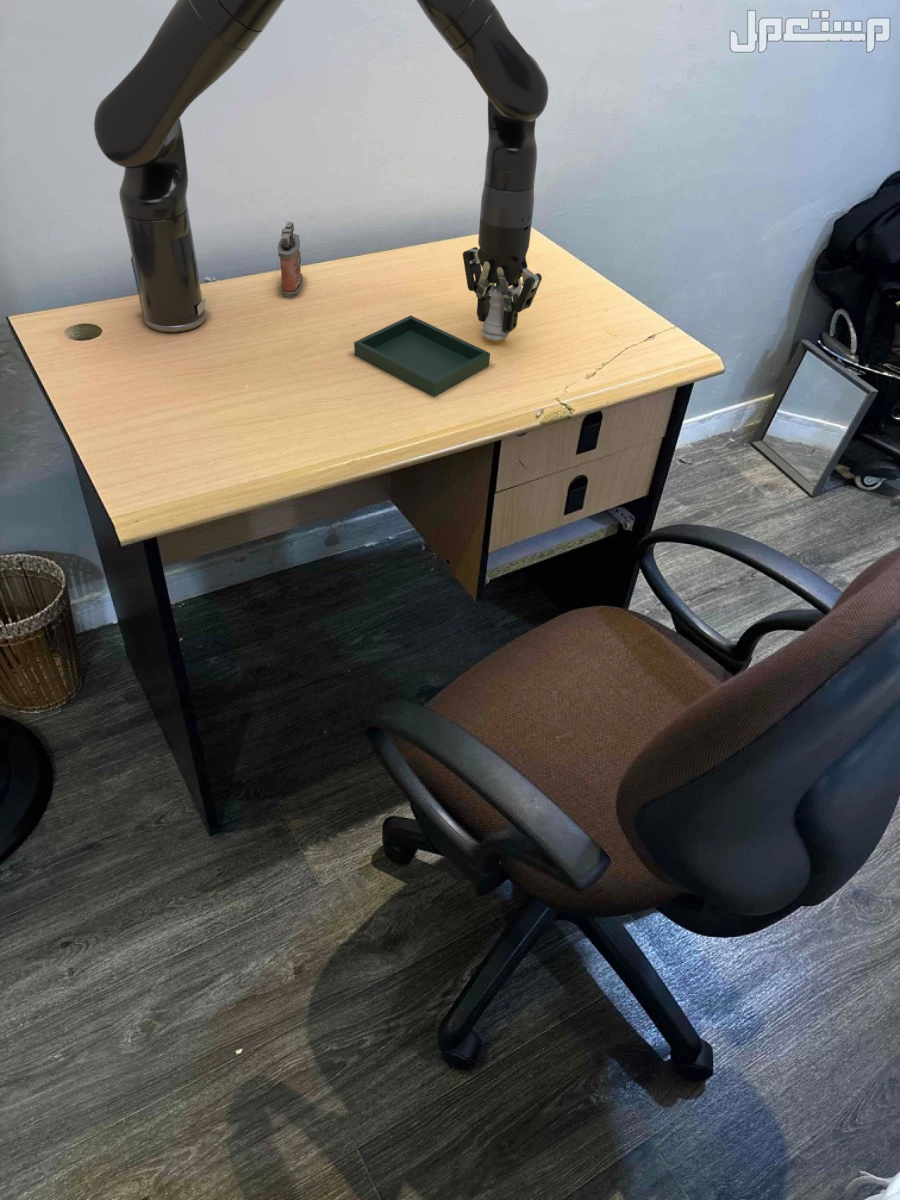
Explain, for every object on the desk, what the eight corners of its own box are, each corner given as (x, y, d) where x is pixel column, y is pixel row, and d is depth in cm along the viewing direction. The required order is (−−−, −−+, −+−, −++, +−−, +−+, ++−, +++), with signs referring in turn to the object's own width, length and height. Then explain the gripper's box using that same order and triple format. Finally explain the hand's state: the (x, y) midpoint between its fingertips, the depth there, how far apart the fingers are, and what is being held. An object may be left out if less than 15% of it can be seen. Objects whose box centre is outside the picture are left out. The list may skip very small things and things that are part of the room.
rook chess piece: (514, 335, 139) (520, 287, 134) (496, 344, 137) (501, 296, 131) (493, 325, 141) (498, 277, 136) (475, 334, 139) (478, 285, 133)
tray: (354, 355, 135) (353, 342, 133) (410, 327, 142) (410, 314, 140) (434, 397, 127) (434, 383, 126) (489, 365, 134) (490, 353, 133)
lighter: (299, 298, 147) (294, 238, 140) (278, 297, 147) (273, 237, 140) (305, 277, 153) (301, 219, 145) (285, 276, 152) (280, 217, 145)
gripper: (451, 207, 127) (446, 317, 139) (529, 237, 121) (516, 350, 133) (484, 194, 131) (476, 302, 143) (561, 223, 125) (546, 333, 137)
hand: (496, 325), depth 138 cm, fingers closed on rook chess piece, 4 cm apart
